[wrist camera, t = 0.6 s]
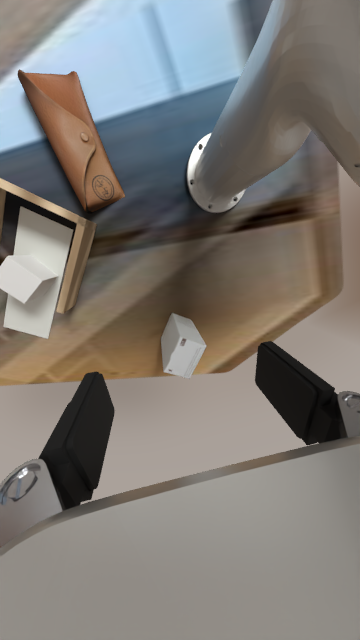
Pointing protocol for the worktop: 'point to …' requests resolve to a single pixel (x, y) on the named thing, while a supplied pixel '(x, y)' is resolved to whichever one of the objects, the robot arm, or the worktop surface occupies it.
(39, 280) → the white cube
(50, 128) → the sunglasses case
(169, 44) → the worktop surface
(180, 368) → the skincare box
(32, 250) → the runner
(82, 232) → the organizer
